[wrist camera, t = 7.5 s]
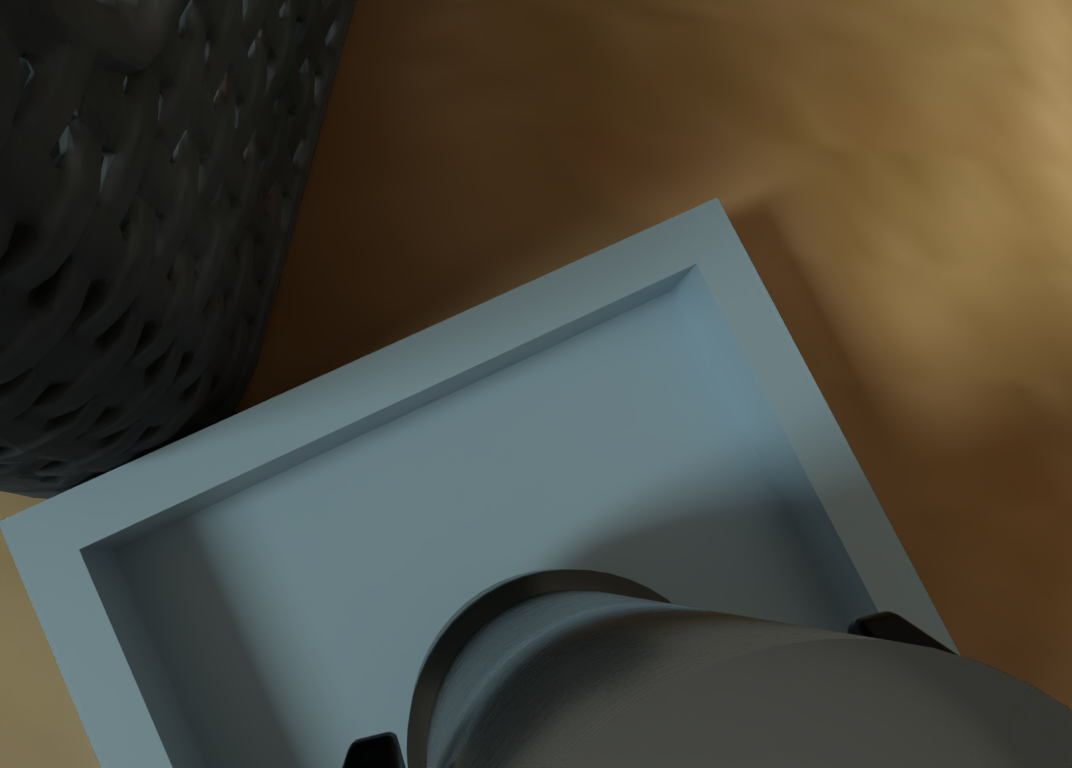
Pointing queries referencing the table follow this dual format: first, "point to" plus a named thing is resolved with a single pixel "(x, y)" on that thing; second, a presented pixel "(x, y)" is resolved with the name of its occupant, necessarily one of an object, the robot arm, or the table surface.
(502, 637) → the strut
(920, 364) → the table surface
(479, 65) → the table surface
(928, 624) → the tray
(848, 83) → the table surface
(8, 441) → the storage bin
